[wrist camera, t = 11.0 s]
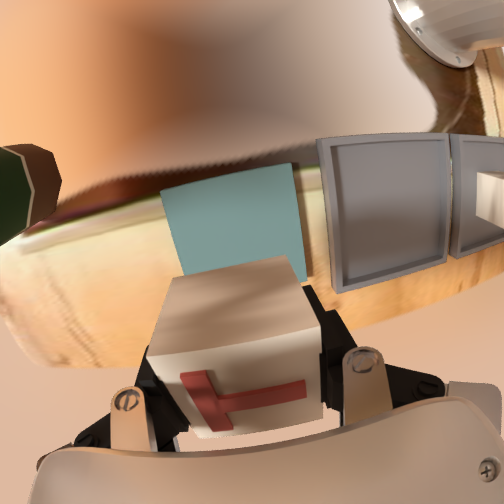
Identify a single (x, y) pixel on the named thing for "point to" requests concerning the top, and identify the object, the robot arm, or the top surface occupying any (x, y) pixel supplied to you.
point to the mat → (236, 220)
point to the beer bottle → (26, 188)
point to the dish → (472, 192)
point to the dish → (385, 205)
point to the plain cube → (490, 197)
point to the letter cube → (240, 349)
